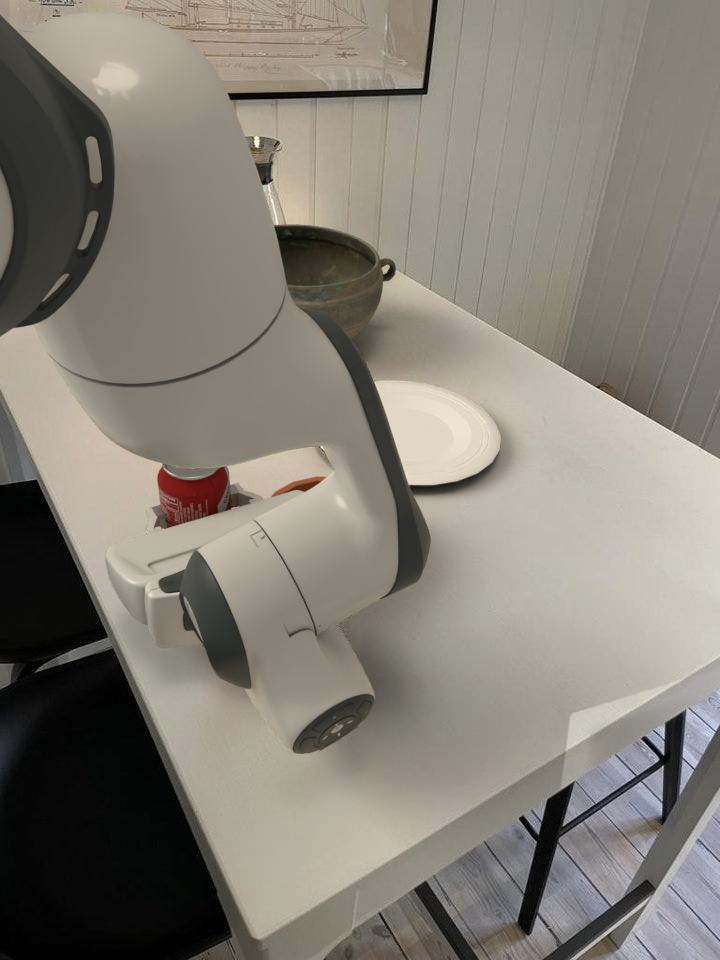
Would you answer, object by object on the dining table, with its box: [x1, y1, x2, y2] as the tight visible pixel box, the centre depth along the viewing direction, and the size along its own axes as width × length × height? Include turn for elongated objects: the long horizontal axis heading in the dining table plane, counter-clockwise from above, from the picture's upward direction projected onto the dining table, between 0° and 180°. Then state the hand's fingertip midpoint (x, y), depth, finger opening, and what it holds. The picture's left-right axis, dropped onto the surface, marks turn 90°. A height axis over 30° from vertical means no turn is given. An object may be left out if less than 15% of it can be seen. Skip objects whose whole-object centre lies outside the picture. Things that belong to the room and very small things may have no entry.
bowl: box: [274, 223, 397, 340], centre depth 116 cm, size 32×26×15 cm
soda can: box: [156, 463, 232, 529], centre depth 74 cm, size 7×7×12 cm
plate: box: [318, 379, 502, 487], centre depth 100 cm, size 25×25×2 cm
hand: (192, 500), depth 75 cm, fingers closed on soda can, 6 cm apart
